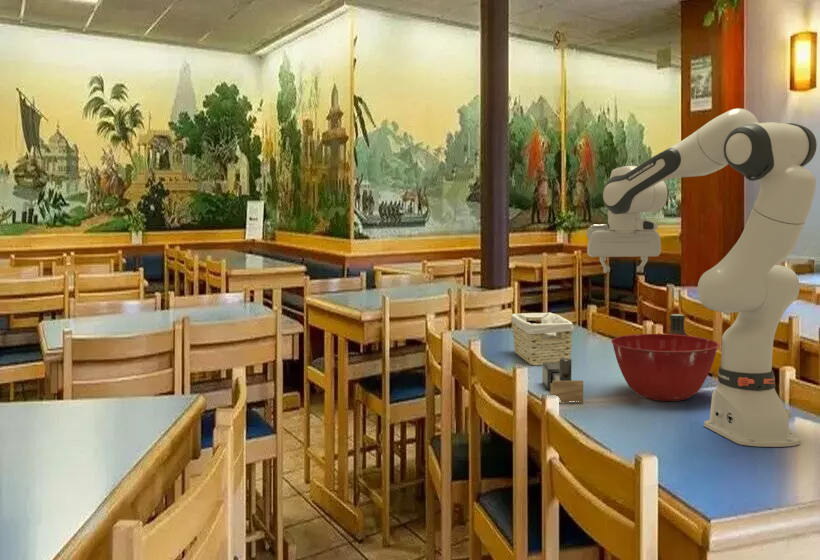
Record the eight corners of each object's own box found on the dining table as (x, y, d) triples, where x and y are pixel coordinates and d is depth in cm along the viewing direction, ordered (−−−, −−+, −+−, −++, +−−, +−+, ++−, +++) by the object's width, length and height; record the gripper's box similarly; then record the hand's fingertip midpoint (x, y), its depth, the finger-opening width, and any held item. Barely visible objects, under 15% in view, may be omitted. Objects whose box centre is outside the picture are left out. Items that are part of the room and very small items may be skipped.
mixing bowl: (590, 388, 216) (591, 336, 215) (671, 379, 226) (672, 329, 224) (652, 413, 190) (653, 354, 188) (741, 402, 199) (742, 346, 198)
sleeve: (570, 390, 214) (571, 369, 214) (547, 390, 214) (547, 369, 214) (565, 382, 223) (565, 362, 223) (542, 383, 224) (542, 362, 223)
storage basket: (574, 365, 248) (575, 321, 246) (527, 367, 246) (527, 323, 245) (553, 351, 272) (553, 311, 270) (509, 353, 270) (509, 313, 268)
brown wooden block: (583, 403, 200) (583, 381, 200) (552, 403, 201) (552, 381, 200) (580, 399, 204) (580, 377, 204) (550, 399, 205) (550, 378, 204)
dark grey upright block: (573, 396, 202) (574, 361, 201) (559, 397, 202) (559, 361, 201) (565, 385, 215) (565, 351, 214) (551, 385, 215) (552, 352, 214)
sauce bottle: (688, 382, 223) (690, 316, 221) (667, 381, 224) (668, 316, 222) (685, 377, 229) (687, 313, 227) (664, 376, 230) (665, 313, 228)
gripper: (589, 224, 206) (588, 273, 208) (663, 223, 206) (662, 273, 207) (584, 224, 213) (584, 271, 214) (656, 223, 212) (655, 271, 213)
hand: (623, 272), depth 211 cm, fingers open, 8 cm apart
